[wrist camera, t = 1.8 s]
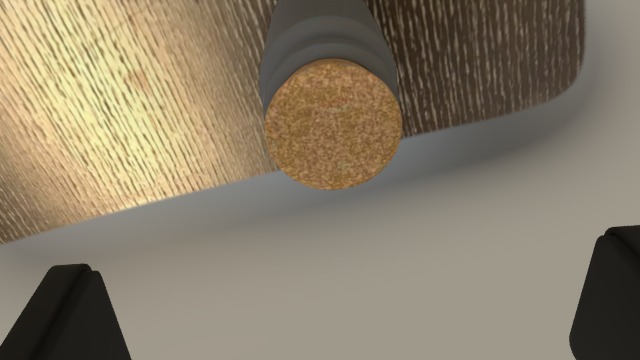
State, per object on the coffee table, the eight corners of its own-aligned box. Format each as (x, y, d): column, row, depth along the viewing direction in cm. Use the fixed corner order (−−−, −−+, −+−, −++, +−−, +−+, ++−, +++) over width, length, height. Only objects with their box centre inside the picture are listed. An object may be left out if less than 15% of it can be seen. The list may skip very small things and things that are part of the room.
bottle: (269, 69, 31) (245, 199, 18) (274, -32, 28) (250, 38, 15) (362, 77, 32) (403, 210, 19) (376, -22, 29) (437, 55, 16)
